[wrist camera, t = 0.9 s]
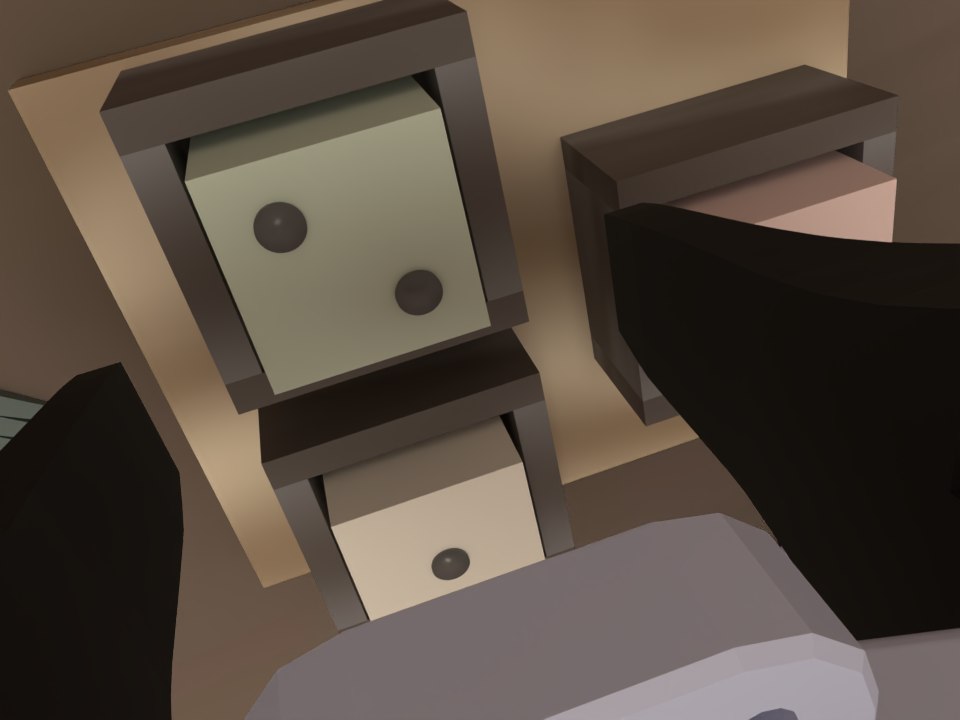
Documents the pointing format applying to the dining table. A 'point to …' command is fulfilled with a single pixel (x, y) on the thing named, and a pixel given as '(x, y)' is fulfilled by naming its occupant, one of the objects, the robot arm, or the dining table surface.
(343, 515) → the tile one
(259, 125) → the tile two
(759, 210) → the tile three
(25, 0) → the dining table surface
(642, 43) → the console
